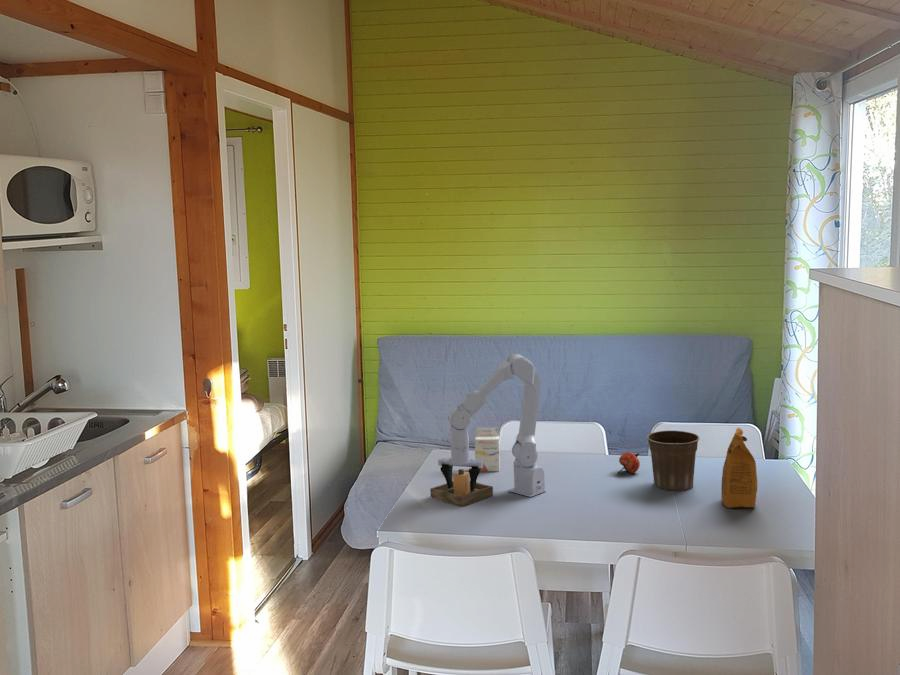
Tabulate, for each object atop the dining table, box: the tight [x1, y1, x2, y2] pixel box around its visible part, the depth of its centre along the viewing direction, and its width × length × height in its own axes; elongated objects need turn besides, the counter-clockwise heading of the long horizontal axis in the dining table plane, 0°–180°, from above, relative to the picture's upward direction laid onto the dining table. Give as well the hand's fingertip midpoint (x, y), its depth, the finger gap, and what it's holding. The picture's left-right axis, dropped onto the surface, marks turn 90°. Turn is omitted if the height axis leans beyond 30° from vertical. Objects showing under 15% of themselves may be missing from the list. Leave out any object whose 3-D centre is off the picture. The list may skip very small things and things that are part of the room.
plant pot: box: [646, 430, 700, 492], centre depth 272 cm, size 16×16×16 cm
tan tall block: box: [452, 468, 470, 496], centre depth 270 cm, size 4×4×8 cm
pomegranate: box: [617, 452, 641, 475], centre depth 288 cm, size 7×7×10 cm
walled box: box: [429, 480, 494, 508], centre depth 270 cm, size 14×14×3 cm
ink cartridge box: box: [474, 427, 501, 472], centre depth 298 cm, size 9×5×15 cm, turn 84°
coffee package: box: [720, 427, 758, 509], centre depth 252 cm, size 10×12×22 cm
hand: (461, 488), depth 270 cm, fingers open, 7 cm apart
